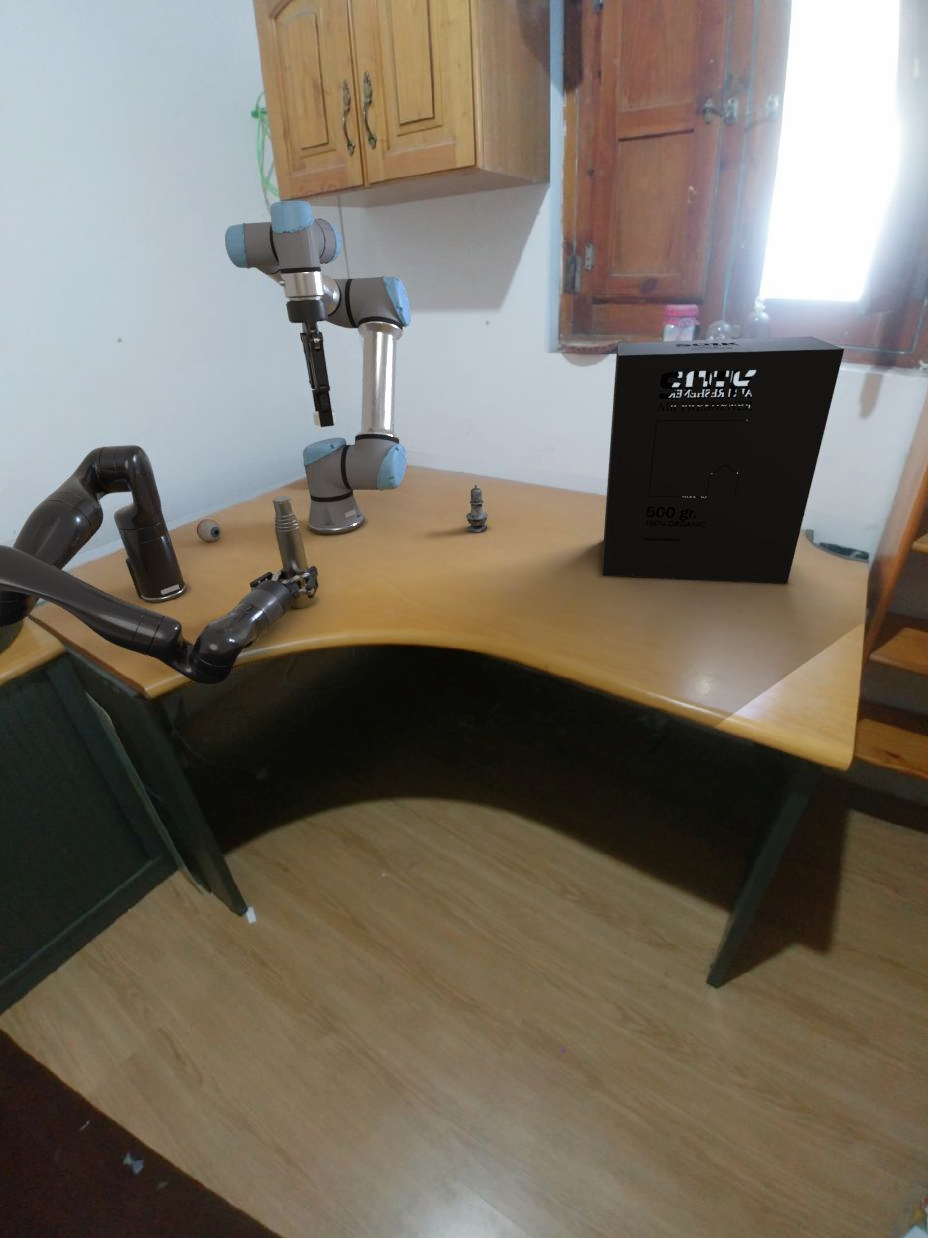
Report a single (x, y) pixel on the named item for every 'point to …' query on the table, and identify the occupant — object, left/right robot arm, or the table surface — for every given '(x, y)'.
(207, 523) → the eyeball
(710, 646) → the table surface
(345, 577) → the table surface
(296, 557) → the bottle
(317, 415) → the cap
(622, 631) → the table surface
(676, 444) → the black rectangular box
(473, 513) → the grey upright piece
